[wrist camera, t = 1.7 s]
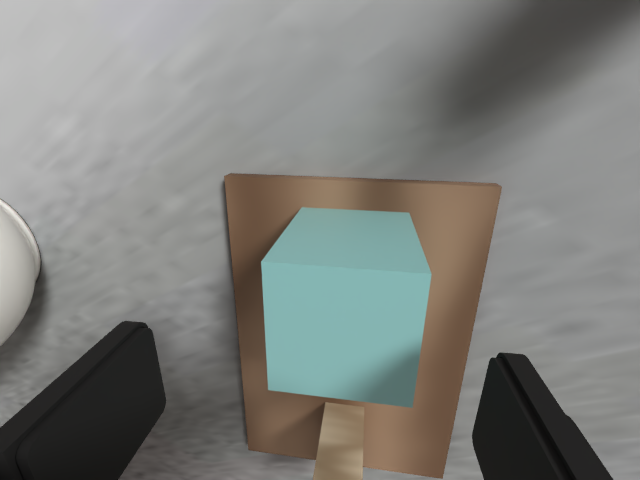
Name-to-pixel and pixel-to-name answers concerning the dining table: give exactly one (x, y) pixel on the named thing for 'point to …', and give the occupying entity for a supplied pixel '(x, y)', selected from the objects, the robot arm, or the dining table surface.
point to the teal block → (346, 306)
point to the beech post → (340, 443)
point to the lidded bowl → (15, 269)
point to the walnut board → (440, 322)
